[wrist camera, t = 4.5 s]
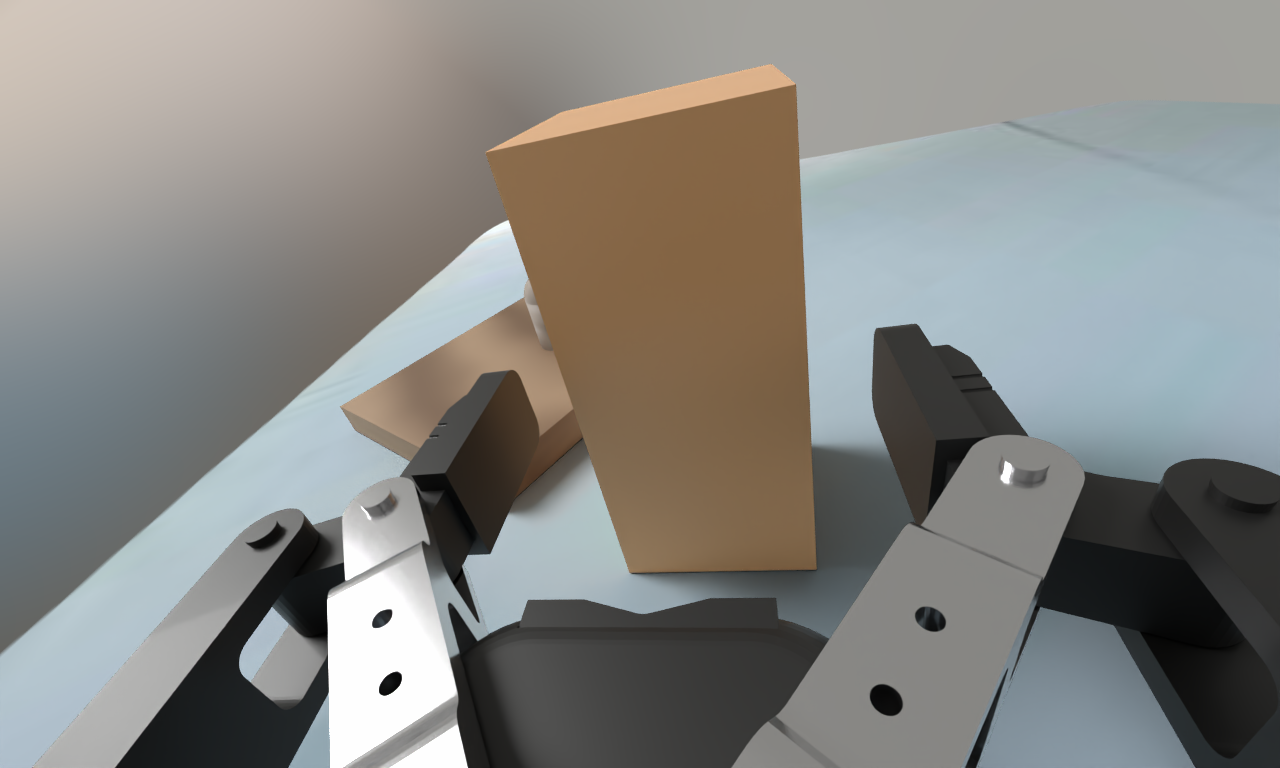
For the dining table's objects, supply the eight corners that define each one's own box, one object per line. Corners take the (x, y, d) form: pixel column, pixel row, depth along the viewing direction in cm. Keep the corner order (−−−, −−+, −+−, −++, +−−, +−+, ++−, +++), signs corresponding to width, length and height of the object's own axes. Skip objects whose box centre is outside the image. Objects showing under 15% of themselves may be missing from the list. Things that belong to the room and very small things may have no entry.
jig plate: (607, 270, 38) (588, 198, 36) (755, 283, 31) (746, 194, 28) (355, 430, 26) (298, 341, 24) (500, 511, 19) (442, 397, 16)
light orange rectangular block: (650, 453, 20) (562, 111, 14) (795, 442, 19) (770, 63, 13) (629, 572, 16) (485, 152, 9) (816, 569, 15) (796, 84, 8)
